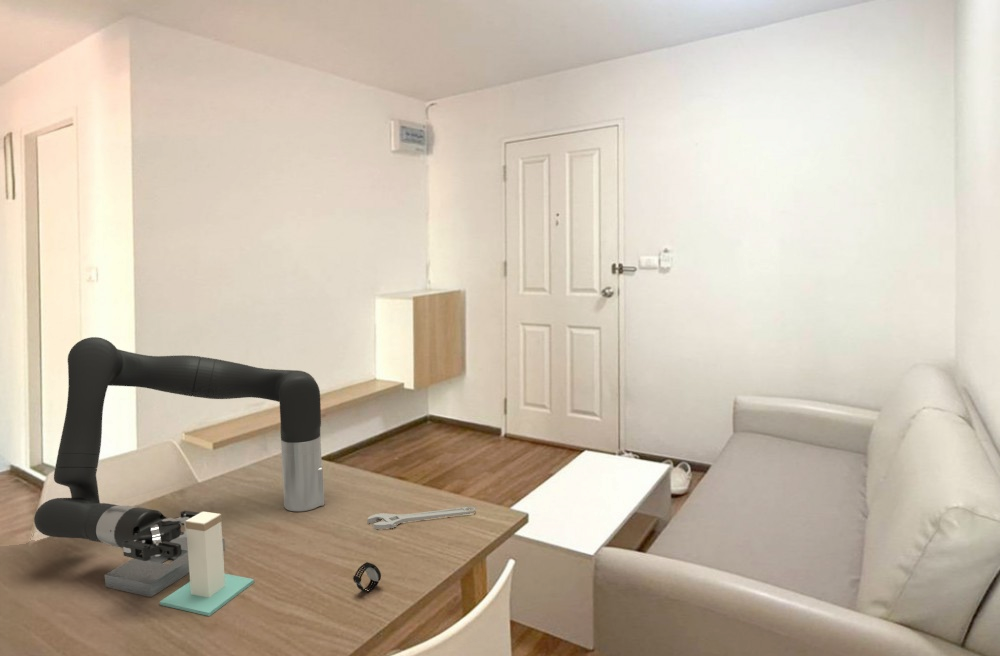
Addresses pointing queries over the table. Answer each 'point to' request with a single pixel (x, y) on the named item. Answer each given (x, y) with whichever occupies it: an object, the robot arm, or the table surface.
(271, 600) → the table surface
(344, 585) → the table surface
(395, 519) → the adjustable wrench
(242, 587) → the mat
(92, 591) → the table surface
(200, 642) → the table surface
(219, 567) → the post
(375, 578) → the smartwatch
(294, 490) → the robot arm
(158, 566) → the socket plate
